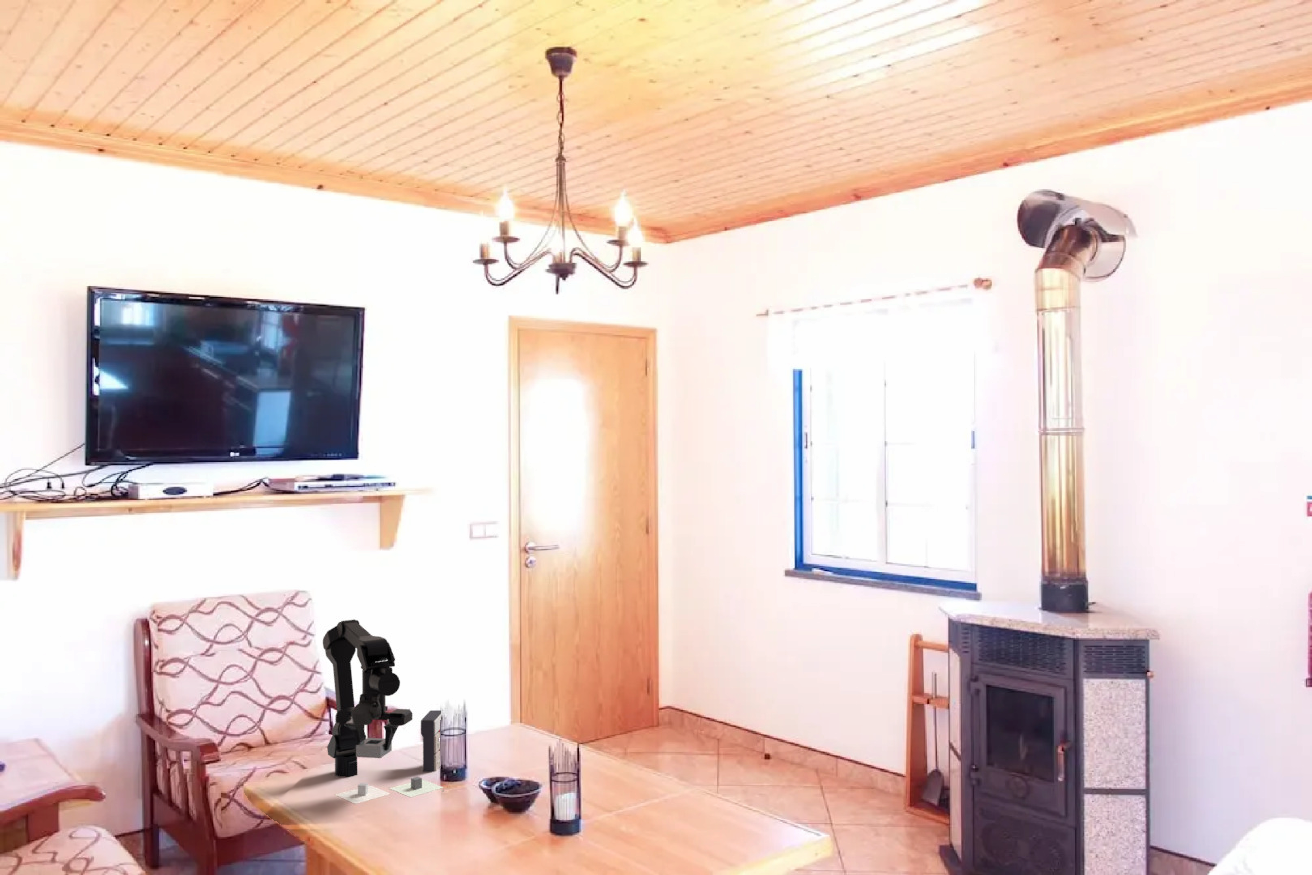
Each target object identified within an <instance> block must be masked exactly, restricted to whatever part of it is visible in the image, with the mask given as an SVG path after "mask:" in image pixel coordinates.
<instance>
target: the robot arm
mask: <svg viewBox="0 0 1312 875" xmlns="http://www.w3.org/2000/svg"><path fill="white" fill-rule="evenodd" d="M322 646H323V650H324V652H325V656H326V658H327V659H328V660H329V661H330V663H331V664H332V669H333V679H334V681H333V682H334V683H333V684H334V689H335V690H334V691H335V704H336V705H335V706H336V713H335V723H334V725H333V727H332V728H331V729H332V730H331V733H332V736H331V738H330V740H329V742H328V743H327V746H326V748H327V755H328V756H329V757H331V758H332V759H334V775H335V776H337V777H345V778H351V777H356V776H358V757H356V745H357V744H359V743H360V742H362V741H364V740H365V739H367V735H366V733H365V732H366V731H365V726H369V725H371V724H372V723H373V720H374V721H377V720H378V721H387V724H385V725H384V726H383V728H384V732H385V734H384V735H385V737H384V739H385V750H386V751H387V750H388V749H389V747H390V744H391V742H392V743H393V739H394V736H395V734H396V732H397V730H398V729H399V727H400V726H404V725H405V726H406V724H408V723H410V722H411V721H413V712H412V711H411V709H410V708H408V709H407V708H397V709H395V710H393V711H392V712H387V711H388V705H386V697H391V696H392V695H395V694H396V693H397V692H398V690H399V689H400V686H401V680H400V678H399V676H398V675H397V674H396V673H394V672H393V668H394V667H396V665H395V661H396V657H395V656H394V655H395V654H394V653H393V650H392V647H391V644H390V643H389V641H388V640H387V639H386V638H385V637H382V636H378V635H377V636H376V635H372V634H371V633H370V632H369V631H367V629H365V628H364V627H363V626H362V625H361V624H360V622H359V620H358V619H357V620H356V619H347V620H341V621H339V622H338V623H337V624H336V625H335V626H334V627H332V628H331V629H328V630H327V631H326V633H325V635H324V636H323V638H322ZM355 653H356V656H357V658H358V661H359V663H360V669H361V670H362V671H361V673H362V674H361V675H362V676H361V678H362V680H361V681H362V684H361V688H362V690H361V691H362V693H361V694H360V695H359V701H358V703H357V704H356V705H355V698H354V697H355V696H354V685H353V676H352V664H351V661H352V659H353V657H354V655H355Z"/></svg>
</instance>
